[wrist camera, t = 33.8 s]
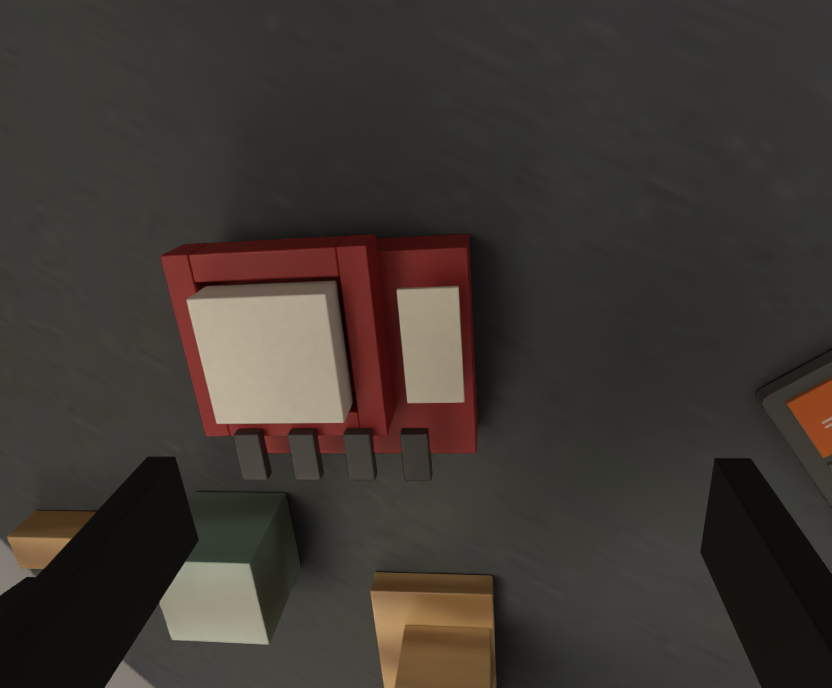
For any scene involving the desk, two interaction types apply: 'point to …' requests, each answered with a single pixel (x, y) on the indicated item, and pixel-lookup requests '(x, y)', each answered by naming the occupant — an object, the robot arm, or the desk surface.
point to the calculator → (805, 417)
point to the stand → (435, 630)
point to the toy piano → (344, 326)
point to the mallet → (204, 564)
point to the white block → (273, 352)
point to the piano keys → (425, 383)
